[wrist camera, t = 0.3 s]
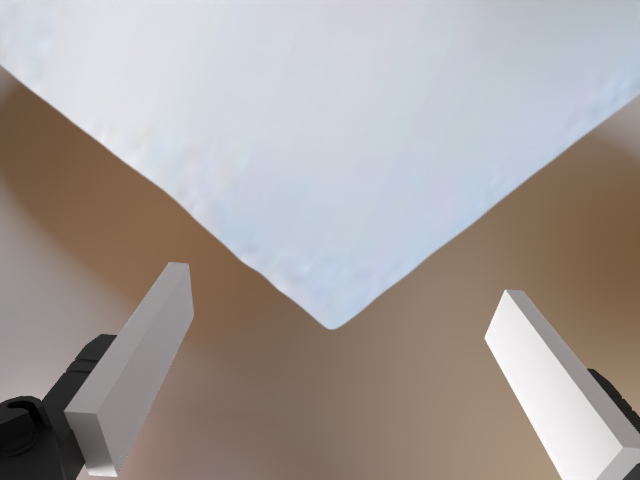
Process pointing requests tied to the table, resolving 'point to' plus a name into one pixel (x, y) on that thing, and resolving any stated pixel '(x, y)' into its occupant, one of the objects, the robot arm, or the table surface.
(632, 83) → the table surface
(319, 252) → the table surface
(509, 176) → the table surface
